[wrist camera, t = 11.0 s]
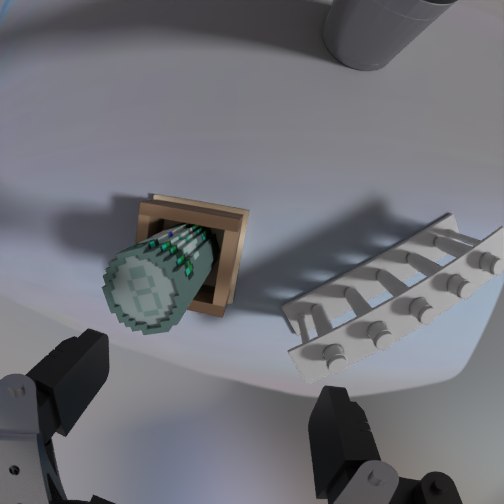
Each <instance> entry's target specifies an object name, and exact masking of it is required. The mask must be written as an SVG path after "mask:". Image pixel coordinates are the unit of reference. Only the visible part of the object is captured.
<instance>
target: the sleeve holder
mask: <svg viewBox="0 0 504 504" xmlns="http://www.w3.org/2000/svg"><path fill="white" fill-rule="evenodd" d="M249 211H250V210H246V209H240V208H235V207H230V206H224V205H219V204H213V203H207V202H202V201H196V200H190V199H184V198H178V197H172V196H166V195H160V194H154V198H153V200H151V201H145V202H140V209H139V217H138V225H137V234H136V244H137V243H139V242H141V241H143V240H145V239H147V238H150V237H152V236H154V235H156V234H158V233H160V232H162V231H164V230H166V229H168V228H170V227H172V226H174V225H177V224H180V223H190V224H195V225H201V226H206V227H207V228H209V227H210V228H211V232H212V234H216V238H217V241H218V245H219V249H220V252H219V253H218V255H217V256H218V260H217V261H216V263H215V265H214V266H213V268H212V270H211V271H210V273H209V274H208V276H207V278H206V279H205V281H204V282H203V284H202V286H201V287H200V289H199V290H198V292H197V294H196V295H195V297H194V298H193V300H192V302H191V303H190V305H189V306H188V308H187V310H191V311H195V312H200V313H204V314H209V315H214V316H219V317H223V315H224V311H225V308H226V305H227V303H228V304H232V302H233V298H234V292H235V287H236V281H237V276H238V270H239V265H240V259H241V254H242V249H243V243H244V238H245V232H246V227H247V222H248V216H249Z"/></svg>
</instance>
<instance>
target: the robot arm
mask: <svg viewBox="0 0 504 504" xmlns="http://www.w3.org/2000/svg"><path fill="white" fill-rule="evenodd" d="M456 1H457V0H333V2H332V4H331V7H330V10H329V12H328V15H327V18H326V20H325V23H324V26H323V31H322V33H323V40H324V42H325V45H326V47H327V48H328V50H329V51H330V52H331V54H332V55H333V56H334V57H335V58H336V59H338V60H339V61H340V62H342V63H343V64H345V65H347V66H349V67H352V68H354V69H358V70H363V71H372V70H378V69H380V68H382V67H384V66H385V65H386V64H388V63H389V62H390V61H391V60H392V59H393V58H394V57H395V56H396V55H397V54H398V53H400V52H401V51H402V50H403V49H404V48H405V47H406V46H407V45H408V44H409V43H410V42H411V41H413V40H414V39H415V38H416V37H417V36H418V35H419V34H420V33H421V32H422V31H423V30H425V29H426V28H427V27H428V26H429V25H430V24H431V23H432V22H433V21H435V20H436V19H437V18H438V17H439V16H440V15H441V14H442V13H443V12H444V11H446V10H447V9H448V8H449V7H450V6H451V5H452V4H454V3H455V2H456ZM108 374H109V340H108V336H107V335H106V334H104V333H101V332H98V331H95V330H92V329H87V330H86V331H85V332H83V333H82V334H81V335H80V336H79V337H78V338H77V337H75V336H74V337H71V338H69V339H66V340H64V341H62V342H61V343H60V344H59V345H58V346H57V347H55V350H52V351H51V352H50V353H49V355H47V356H46V357H44V358H43V359H42V360H41V361H40V362H39V363H38V364H37V365H36V366H35V367H34V368H33V369H31V370H30V371H29V372H28V373H27V374H26V375H23V374H10V375H7V376H5V377H4V378H3V379H1V380H0V504H115V503H112V502H110V501H107V500H105V499H103V498H100V497H98V496H95V495H93V497H92V499H91V501H90V502H88V501H81V500H68V499H67V497H66V494H65V492H64V489H63V486H62V483H61V480H60V476H59V471H58V467H57V462H56V458H55V453H54V447H53V443H52V438H51V437H52V436H53V434H54V433H55V432H57V433H59V434H61V435H63V436H65V437H66V436H67V435H68V433H69V432H70V430H71V429H72V428H73V426H74V425H75V423H76V422H77V420H78V419H79V417H80V416H81V415H82V413H83V412H84V411H85V409H86V408H87V406H88V405H89V404H90V402H91V401H92V399H93V398H94V397H95V395H96V394H97V393H98V391H99V390H100V388H101V387H102V386H103V384H104V383H105V382H106V380H107V377H108ZM367 422H368V421H367V418H366V415H365V412H364V410H363V409H362V408H361V407H360V406H359V405H358V404H357V403H356V402H351V401H350V399H349V396H348V393H347V390H346V388H343V387H334V386H324V387H323V389H322V391H321V393H320V395H319V398H318V400H317V403H316V404H315V407H314V409H313V411H312V413H311V416H310V419H309V424H308V432H309V440H310V448H311V456H312V463H313V472H314V482H315V491H316V498H317V499H328V504H462V501H461V499H460V496H459V493H458V491H457V488H456V486H455V484H454V482H453V480H452V479H451V478H450V477H449V476H448V475H446V474H444V473H442V472H430V473H428V474H426V475H425V476H424V477H423V478H422V479H421V480H413V479H407V478H402V477H399V476H398V473H397V471H396V470H395V469H394V468H393V467H392V466H390V465H389V464H387V463H385V462H382V461H381V458H380V455H379V452H378V450H377V447H376V444H375V441H374V438H373V435H372V432H370V430H371V429H370V426H369V424H368V423H367Z"/></svg>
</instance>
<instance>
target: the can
mask: <svg viewBox="0 0 504 504" xmlns="http://www.w3.org/2000/svg"><path fill="white" fill-rule="evenodd" d="M219 252H220V249H219V245H218V241H217V238H216V234H212V232H211V228H210V227H209V228H207V227H206V226H201V225H195V224H190V223H180V224H177V225H174V226H172V227H170V228H168V229H166V230H164V231H162V232H160V233H158V234H156V235H154V236H152V237H150V238H147V239H145V240H143V241H141V242H139V243H137V244H135V245H133V246H131V247H129V248H127V249H125V250H123V251H121V252H119V253H118V254H116V256H117V258H115V259H114V260H112V261H110V262H108V263H109V266H110V267H108V268H107V269H106V272H107V273H106V274H105V275H103V278H104V281H105V284H106V285H105V286H103V287H102V289H103V292H104V295H105V298H106V301H107V303H108V306H109V309H110V311H111V313H116V315H117V318H118V320H119V323H121V322H124V324H125V326H126V327H131V329H132V331H139V330H142V332H143V335H148V334H155V333H162V332H169V330H170V328H171V327H172V326H173V325H177V324H178V323H179V321H180V319H181V318H182V316H183V315H184V313H185V311H186V310H187V308H188V306H189V305H190V303H191V302H192V300H193V298H194V297H195V295H196V294H197V292H198V290H199V289H200V287H201V286H202V284H203V282H204V281H205V279H206V278H207V276H208V274H209V273H210V271H211V270H212V268H213V266H214V265H215V263H216V261H217V260H218V256H217V255H218V253H219Z"/></svg>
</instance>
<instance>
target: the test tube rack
mask: <svg viewBox="0 0 504 504" xmlns="http://www.w3.org/2000/svg"><path fill="white" fill-rule="evenodd" d="M462 242H465V243H468V244H471V245H473V247H471V246H468V245H466V244H463V243H462ZM487 252H488V253H487ZM447 254H450V255H452V256H454V257H457V258H456V259H454V260H452V261H451V262H449V263H448V264H446V265H445V266H443V267H442V266H440V265H439V264H437V263H435V262H436V261H437V260H439V259H440V258H442V257H443V256H445V255H447ZM481 269H482V270H481ZM503 270H504V227H503V226H501V227H500V228H498V229H497V230H496V231H494V232H493V233H491V234H490V235H489V236H487V237H486V238H485V239H483V240H482V241H481V240H478V239H475V238H471V237H468V236H465V235H462V234H459V230H458V227H457V224H456V220H455V217H454V214H451V213H450V214H449V215H447V216H445V217H444V218H442V219H440V220H439V221H437V222H435V223H434V224H432V225H430V226H429V227H427V228H425V229H424V230H422V231H420V232H419V233H417V234H415V235H414V236H412V237H410V238H408V239H407V240H405V241H403V242H401V243H400V244H398V245H396V246H394V247H393V248H391V249H389V250H387V251H385V252H384V253H382V254H380V255H378V256H376V257H375V258H373V259H371V260H369V261H367V262H365V263H364V264H362V265H360V266H358V267H356V268H354V269H352V270H351V271H349V272H347V273H345V274H343V275H341V276H339V277H337V278H335V279H334V280H332V281H330V282H328V283H326V284H324V285H322V286H320V287H318V288H316V289H314V290H312V291H310V292H308V293H306V294H304V295H302V296H300V297H298V298H296V299H294V300H292V301H290V302H288V303H286V304H284V305H282V309H283V311H284V313H285V315H286V316H287V318H288V320H289V322H290V324H291V325H292V327H293V329H294V331H295V333H296V334H297V336H299V335H301V338H302V343H303V344H301V345H298V346H296V347H294V348H292V349H290V350H288V354H289V356H290V357H291V359H292V361H293V362H294V364H295V366H296V367H297V369H298V371H299V372H300V374H301V376H302V378H303V379H304V381H305V383H306V384H307V385H308V384H311V383H313V382H315V381H317V380H320V379H322V378H324V377H326V376H329V375H331V374H333V373H334V374H338V373H341V372H343V371H344V370H345V369H346V368H347V367H348V366H350V365H352V364H354V363H356V362H358V361H360V360H362V359H364V358H366V357H368V356H369V355H371V354H373V353H375V352H377V351H379V350H386V349H388V348H389V347H391V345H392V344H393V343H394V342H395V341H397V340H399V339H401V338H402V337H404V336H406V335H408V334H409V333H411V332H413V331H414V330H416V329H418V328H419V327H421V326H423V325H428V324H431V323H432V322H433V321H434V320H435V318H436V317H437V316H439V315H440V314H442V313H443V312H445V311H446V310H448V309H449V308H451V307H452V306H454V305H455V304H457V303H458V302H460V301H461V300H462V299H464V300H465V299H468V298H469V297H470V296H471V295H472V293H473V292H474V291H475V290H477V289H478V288H479V287H481V286H482V285H483V284H485V283H486V282H487V281H489V280H490V279H491V278H493V277H494V276H495V275H500V274H501V273H502V272H503ZM418 272H421V273H422V274H424V275H426V276H427V277H426V278H424V279H423V280H421V281H419V282H418V283H416V284H414V285H413V286H411V287H408V286H406V285H405V284H404V283H403V282H402V281H404V280H406V279H408V278H409V277H411V276H413V275H414V274H416V273H418ZM457 274H458V275H457ZM387 290H388V291H389V292H390V293H391V294H392V295H393V296H394V297H392V298H390V299H388V300H387V301H385V302H383V303H381V304H380V305H378V306H376V307H374V308H371V307H370V305H369V304H368V303H367V301H369V300H371V299H372V298H374V297H376V296H378V295H380V294H381V293H383V292H385V291H387ZM448 290H449V291H450V292H449V291H448ZM421 297H422V298H421ZM423 298H424V299H423ZM352 309H353V311H354V313H355V314H356V316H357V317H355V318H353V319H352V320H350V321H348V322H346V323H344V324H342V325H340V326H338V327H336V328H334V329H333V327H332V324H331V322H330V320H332V319H334V318H336V317H338V316H340V315H342V314H344V313H346V312H348V311H350V310H352ZM383 322H384V323H383ZM314 328H316V331H317V334H318V337H315V338H313V339H311V340H310V339H309V335H308V331H310V330H312V329H314ZM368 335H369V336H370V337H369V336H368ZM341 347H342V348H341ZM342 349H343V350H342ZM323 353H324V355H323Z"/></svg>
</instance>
